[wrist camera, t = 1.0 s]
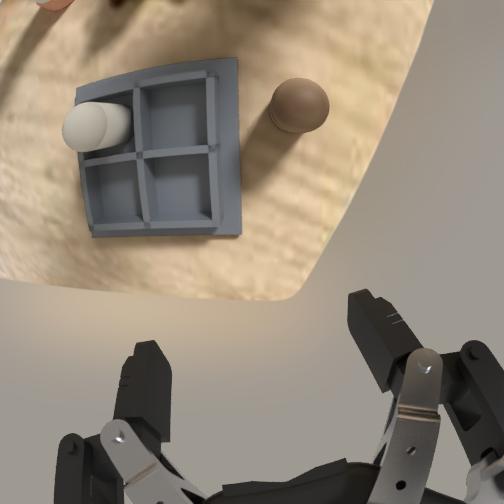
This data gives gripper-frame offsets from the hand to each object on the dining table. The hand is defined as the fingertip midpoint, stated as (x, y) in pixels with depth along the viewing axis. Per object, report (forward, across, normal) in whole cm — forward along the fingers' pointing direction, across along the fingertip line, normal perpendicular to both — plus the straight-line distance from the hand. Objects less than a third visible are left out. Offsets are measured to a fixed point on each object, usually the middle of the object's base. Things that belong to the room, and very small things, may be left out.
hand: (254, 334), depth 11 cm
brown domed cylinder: (+23, -9, -6) cm, 26 cm away
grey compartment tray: (+26, +7, -5) cm, 27 cm away
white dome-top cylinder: (+26, +10, -10) cm, 29 cm away
